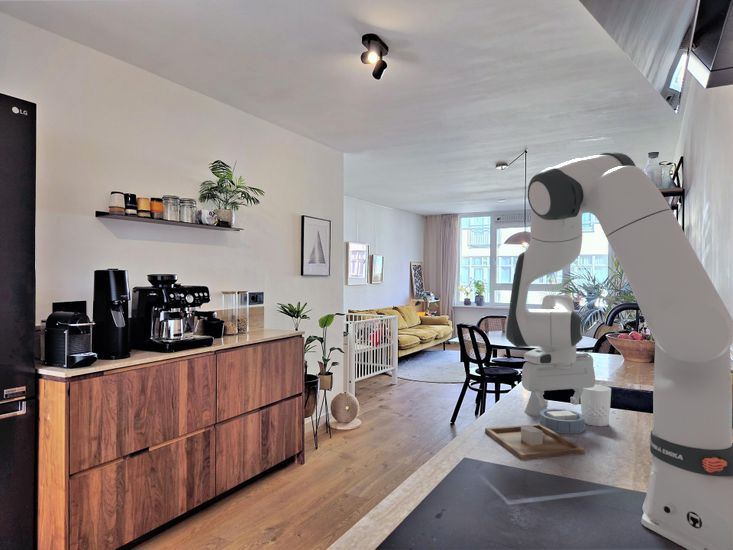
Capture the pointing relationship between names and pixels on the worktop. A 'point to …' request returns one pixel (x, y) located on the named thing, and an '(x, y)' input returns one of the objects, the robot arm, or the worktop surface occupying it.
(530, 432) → the cream white small block
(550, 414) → the cream small block
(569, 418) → the white small block
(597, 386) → the white cup
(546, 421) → the bowl
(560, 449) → the tray
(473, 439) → the worktop surface
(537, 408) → the flask
